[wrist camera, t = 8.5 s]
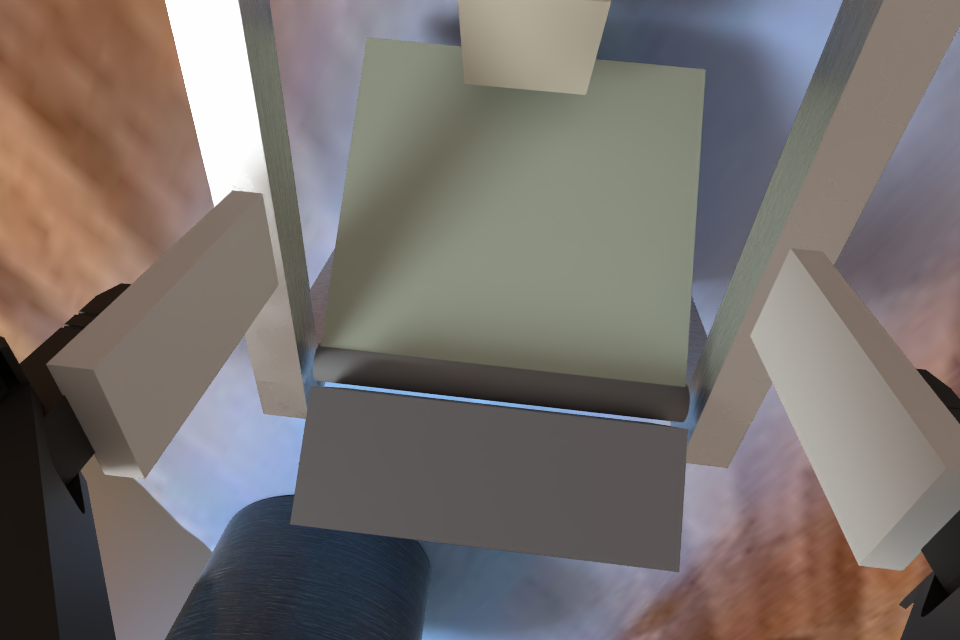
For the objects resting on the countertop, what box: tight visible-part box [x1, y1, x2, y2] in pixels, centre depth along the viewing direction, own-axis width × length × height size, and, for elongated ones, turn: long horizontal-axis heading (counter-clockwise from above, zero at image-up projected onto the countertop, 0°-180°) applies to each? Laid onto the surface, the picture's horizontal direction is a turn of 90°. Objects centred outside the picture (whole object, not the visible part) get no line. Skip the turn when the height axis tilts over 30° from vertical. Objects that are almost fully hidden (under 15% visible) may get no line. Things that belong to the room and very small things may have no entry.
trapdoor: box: [290, 38, 706, 572], centre depth 24 cm, size 20×15×5 cm
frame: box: [165, 0, 960, 468], centre depth 24 cm, size 20×20×14 cm
